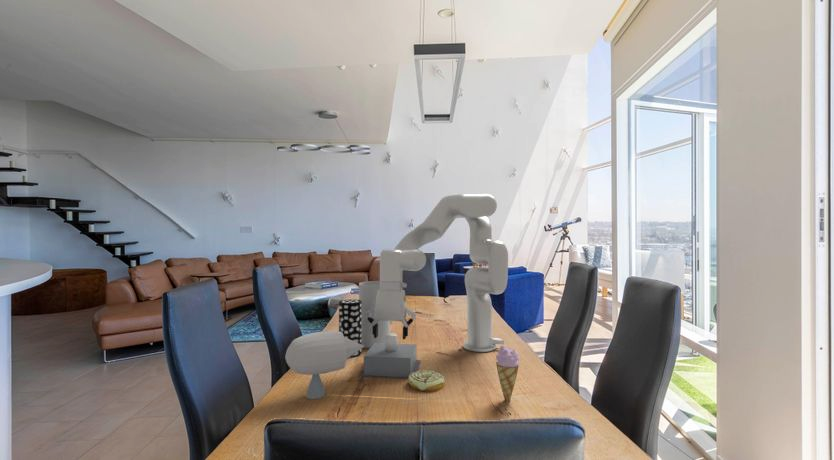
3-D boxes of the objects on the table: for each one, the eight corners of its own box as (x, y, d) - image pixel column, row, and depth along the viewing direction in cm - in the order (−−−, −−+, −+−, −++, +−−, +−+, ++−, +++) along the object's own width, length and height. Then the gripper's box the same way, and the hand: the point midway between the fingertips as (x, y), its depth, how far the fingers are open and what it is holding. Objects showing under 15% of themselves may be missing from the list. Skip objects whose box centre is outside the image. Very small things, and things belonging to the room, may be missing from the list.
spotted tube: (357, 359, 144) (356, 303, 144) (335, 357, 145) (335, 303, 145) (364, 352, 152) (364, 299, 152) (344, 351, 153) (343, 299, 153)
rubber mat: (421, 361, 141) (421, 360, 141) (414, 380, 123) (414, 379, 123) (371, 359, 143) (371, 358, 143) (357, 377, 126) (357, 376, 126)
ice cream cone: (492, 395, 112) (492, 342, 112) (514, 394, 113) (514, 341, 113) (499, 405, 106) (499, 349, 105) (522, 404, 106) (522, 348, 106)
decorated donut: (422, 397, 111) (422, 383, 111) (401, 385, 120) (401, 372, 120) (451, 388, 117) (451, 376, 117) (429, 377, 126) (429, 365, 126)
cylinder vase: (396, 343, 164) (396, 282, 164) (377, 351, 153) (377, 286, 153) (372, 339, 170) (372, 280, 170) (352, 346, 160) (352, 283, 160)
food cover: (416, 361, 140) (416, 330, 140) (410, 377, 125) (410, 342, 125) (374, 359, 142) (374, 328, 142) (363, 375, 127) (363, 340, 127)
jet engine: (353, 406, 105) (352, 340, 105) (279, 404, 107) (279, 338, 107) (365, 384, 120) (365, 326, 120) (300, 382, 122) (300, 325, 122)
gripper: (418, 285, 136) (417, 336, 136) (368, 284, 138) (367, 333, 138) (415, 288, 128) (414, 342, 128) (362, 287, 131) (361, 339, 130)
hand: (390, 337), depth 133 cm, fingers open, 9 cm apart
